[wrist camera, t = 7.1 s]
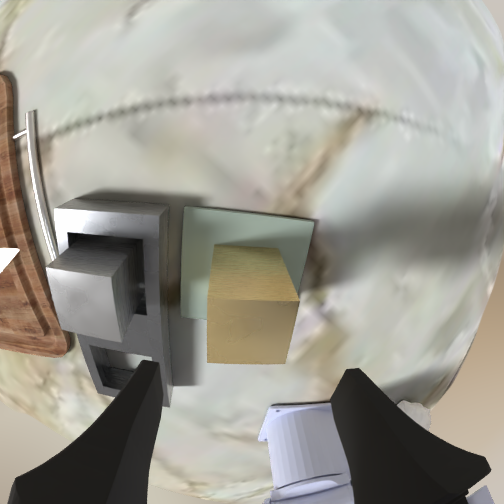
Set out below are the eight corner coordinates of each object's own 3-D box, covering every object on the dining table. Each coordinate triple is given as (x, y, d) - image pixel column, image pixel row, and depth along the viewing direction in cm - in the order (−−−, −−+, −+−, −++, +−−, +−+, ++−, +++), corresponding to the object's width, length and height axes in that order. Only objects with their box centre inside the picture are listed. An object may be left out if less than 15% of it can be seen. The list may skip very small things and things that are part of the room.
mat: (312, 220, 17) (314, 222, 17) (288, 322, 20) (289, 325, 20) (185, 206, 16) (184, 207, 16) (181, 313, 19) (180, 317, 19)
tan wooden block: (278, 248, 17) (299, 301, 12) (270, 301, 19) (285, 363, 13) (214, 244, 17) (207, 297, 11) (212, 298, 18) (207, 362, 13)
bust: (383, 421, 34) (436, 446, 26) (358, 454, 29) (415, 483, 22) (408, 377, 29) (472, 405, 21) (383, 415, 25) (456, 449, 17)
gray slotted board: (169, 204, 16) (159, 216, 14) (173, 386, 23) (169, 407, 20) (73, 198, 15) (54, 208, 13) (105, 374, 22) (97, 393, 19)
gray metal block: (145, 232, 17) (110, 277, 11) (147, 286, 18) (121, 342, 13) (93, 228, 16) (45, 267, 11) (98, 279, 18) (61, 329, 12)
